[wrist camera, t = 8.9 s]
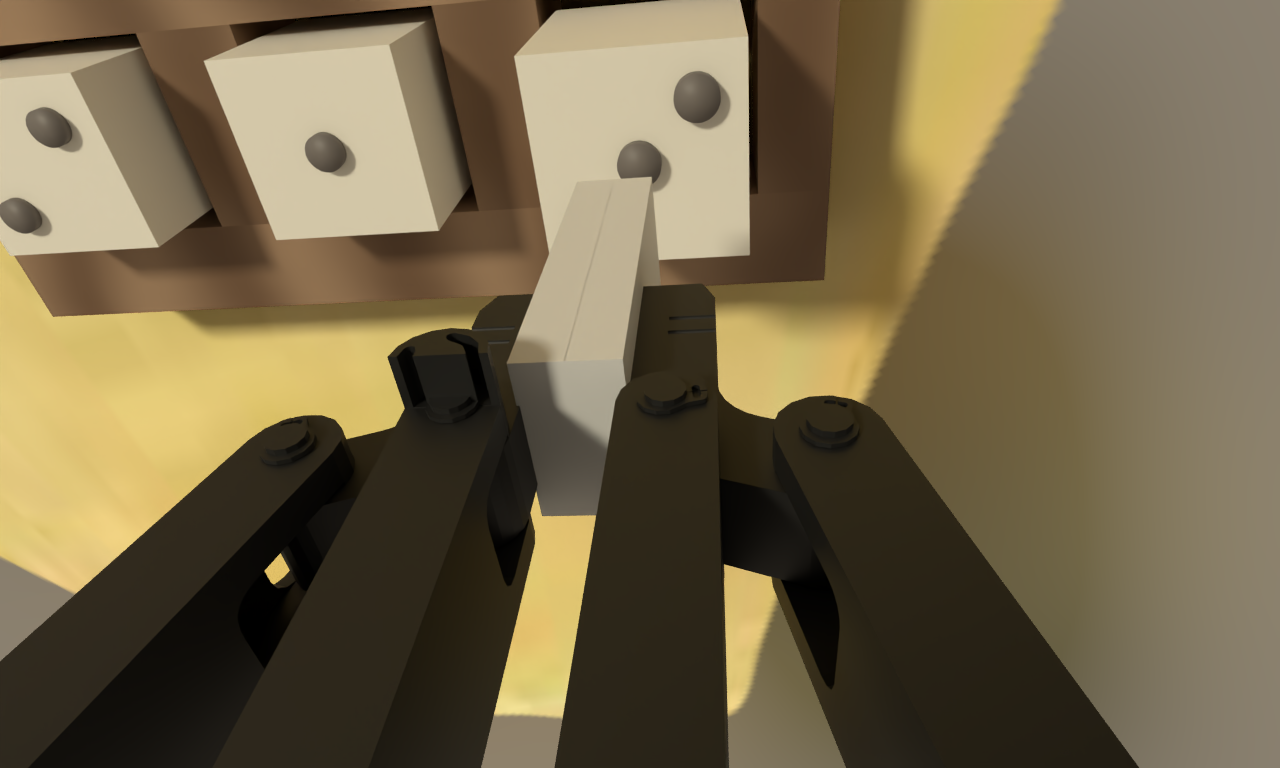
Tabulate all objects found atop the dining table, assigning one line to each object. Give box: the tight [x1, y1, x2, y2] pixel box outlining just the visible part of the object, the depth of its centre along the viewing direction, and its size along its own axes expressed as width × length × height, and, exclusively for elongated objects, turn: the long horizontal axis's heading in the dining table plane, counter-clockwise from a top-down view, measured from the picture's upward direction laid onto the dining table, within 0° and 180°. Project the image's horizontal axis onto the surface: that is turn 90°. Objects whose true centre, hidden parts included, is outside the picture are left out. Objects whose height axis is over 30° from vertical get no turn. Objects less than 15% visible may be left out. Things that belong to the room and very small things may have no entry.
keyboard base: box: [0, 0, 840, 317], centre depth 26 cm, size 30×13×4 cm, turn 95°
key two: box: [0, 36, 213, 256], centre depth 25 cm, size 5×6×6 cm
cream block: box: [204, 8, 472, 240], centre depth 24 cm, size 5×6×6 cm
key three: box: [514, 0, 750, 260], centre depth 21 cm, size 5×6×6 cm
